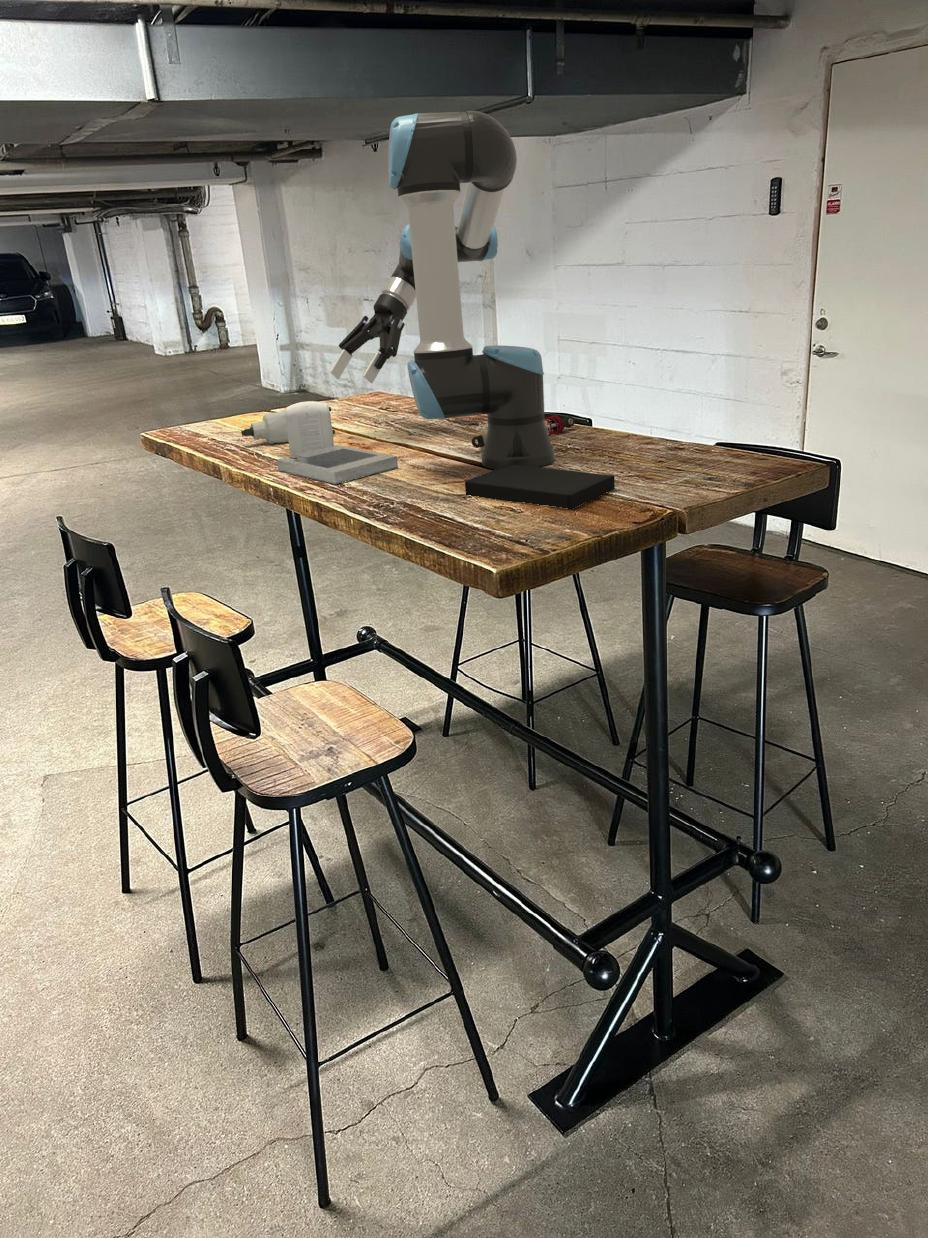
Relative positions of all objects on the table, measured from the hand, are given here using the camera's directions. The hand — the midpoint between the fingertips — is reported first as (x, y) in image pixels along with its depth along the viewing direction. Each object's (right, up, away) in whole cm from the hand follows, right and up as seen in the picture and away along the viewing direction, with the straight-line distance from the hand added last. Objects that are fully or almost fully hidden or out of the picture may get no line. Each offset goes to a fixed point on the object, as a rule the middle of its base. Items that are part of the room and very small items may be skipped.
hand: (350, 377), depth 208 cm
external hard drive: (+40, -34, -45) cm, 69 cm away
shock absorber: (+41, -16, -3) cm, 44 cm away
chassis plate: (-1, -24, -16) cm, 29 cm away
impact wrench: (-21, -9, +25) cm, 34 cm away
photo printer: (-8, -19, -1) cm, 21 cm away
